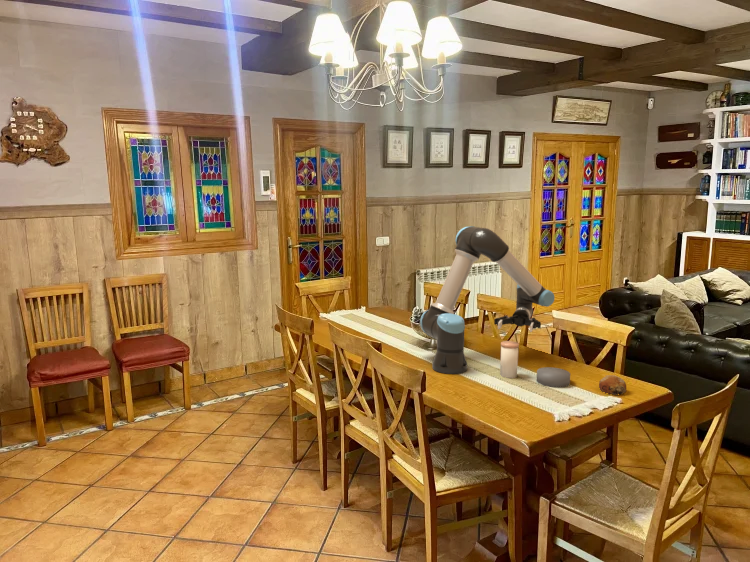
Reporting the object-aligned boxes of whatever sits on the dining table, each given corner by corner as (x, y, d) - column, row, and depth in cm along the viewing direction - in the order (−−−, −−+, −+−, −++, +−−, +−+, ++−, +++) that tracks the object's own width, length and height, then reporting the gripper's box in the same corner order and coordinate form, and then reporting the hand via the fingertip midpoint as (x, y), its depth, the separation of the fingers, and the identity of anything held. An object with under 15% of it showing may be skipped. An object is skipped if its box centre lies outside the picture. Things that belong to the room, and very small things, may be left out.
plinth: (547, 388, 218) (547, 378, 217) (530, 377, 230) (531, 368, 230) (576, 385, 221) (577, 376, 220) (558, 375, 234) (558, 366, 233)
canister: (504, 378, 229) (506, 346, 227) (496, 373, 236) (498, 341, 234) (520, 377, 231) (521, 345, 229) (512, 371, 238) (513, 340, 235)
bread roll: (625, 399, 217) (627, 379, 219) (626, 396, 208) (627, 375, 210) (598, 395, 221) (600, 375, 223) (597, 392, 212) (599, 371, 214)
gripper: (548, 326, 255) (544, 338, 235) (494, 322, 264) (485, 333, 245) (549, 310, 254) (544, 321, 234) (494, 307, 263) (486, 316, 244)
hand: (514, 327), depth 239 cm, fingers open, 13 cm apart
